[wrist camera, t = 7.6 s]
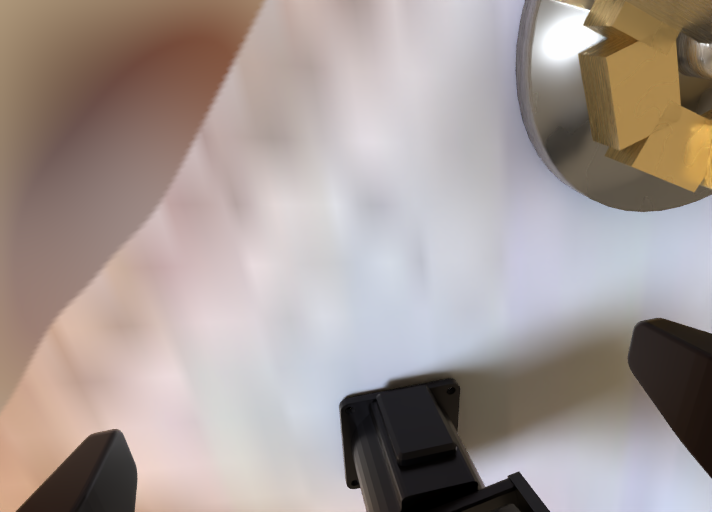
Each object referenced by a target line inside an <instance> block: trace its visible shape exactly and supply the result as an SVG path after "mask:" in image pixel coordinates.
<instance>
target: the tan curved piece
mask: <svg viewBox="0 0 712 512" xmlns="http://www.w3.org/2000/svg"><path fill="white" fill-rule="evenodd" d="M583 26H585V27H587V28H588V29H590V30H592V31H594V32H596V33H598V34H600V35H602V36H604V37H606V38H608V39H607V40H605V41H603V42H601V43H599V44H597V45H595V46H593V47H591V48H589V49H587V50H585V51H583V52H581V53H579V54H578V58H579V64H580V70H581V75H582V81H583V87H584V93H585V98H586V104H587V110H588V115H589V121H590V127H591V132H592V138H593V141H595V142H598V143H601V144H603V145H606V146H609V148H608V150H607V152H606V154H605V155H604V156H606V157H608V158H611V159H613V160H615V161H618V162H620V163H623V164H625V165H628V166H630V167H632V168H635V169H637V170H640V171H642V172H645V173H647V174H649V175H652V176H654V177H657V178H659V179H662V180H664V181H667V182H669V183H672V184H674V185H677V186H679V187H682V188H684V189H687V190H690V191H692V192H695V191H696V189H697V188H698V186H699V185H701V186H704V187H707V188H709V189H712V109H711V110H709V111H707V112H705V113H703V114H701V115H698V114H696V113H694V112H692V111H690V110H688V109H686V108H684V107H682V106H681V101H680V87H679V74H678V61H677V47H676V38H677V36H678V35H679V33H680V32H681V33H683V34H684V35H686V36H688V37H690V38H691V39H693V40H695V41H697V42H698V43H706V44H712V0H595V2H594V4H593V6H592V8H591V10H590V12H589V14H588V16H587V18H586V20H585V22H584V24H583Z"/></svg>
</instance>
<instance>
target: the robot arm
mask: <svg viewBox="0 0 712 512" xmlns="http://www.w3.org/2000/svg"><path fill="white" fill-rule="evenodd" d="M628 364H629V367H630V369H631V371H632V373H633V374H634V376H635V377H636V378H637V380H638V381H639V383H640V384H641V386H642V387H643V388H644V390H645V391H646V393H647V394H648V395H649V397H650V398H651V400H652V401H653V403H654V404H655V405H656V407H657V408H658V410H659V411H660V413H661V414H662V415H663V417H664V418H665V420H666V421H667V423H668V424H669V425H670V427H671V428H672V430H673V431H674V432H675V434H676V435H677V437H678V438H679V439H680V441H681V442H682V443H683V445H684V446H685V447H686V448H687V450H688V451H689V452H690V453H691V454H692V456H693V457H694V458H695V459H696V460H697V462H698V463H699V464H700V465H701V466H702V468H703V469H704V470H705V471H706V472H707V473H708V475H709V476H710V477H711V478H712V334H711V333H708V332H705V331H701V330H698V329H695V328H692V327H689V326H685V325H682V324H679V323H676V322H673V321H669V320H666V319H662V318H654V319H649V320H644V321H640V322H638V323H637V324H636V326H635V327H634V330H633V335H632V339H631V344H630V348H629V353H628ZM451 387H452V388H451ZM449 388H451V389H449ZM459 397H460V387H459V385H458V383H457V382H456V380H454V379H445V380H440V381H434V382H429V383H424V384H419V385H413V386H408V387H403V388H398V389H393V390H387V391H382V392H377V393H372V394H366V395H361V396H356V397H351V398H347V399H344V400H343V401H341V403H340V405H339V412H340V423H341V434H342V446H343V457H344V468H345V479H346V483H347V486H348V487H349V488H350V489H357V488H361V491H362V495H363V499H364V503H365V507H366V511H367V512H550V511H549V510H548V508H547V507H546V506H545V505H544V503H543V502H542V501H541V499H540V498H539V497H538V495H537V494H536V493H535V492H534V490H533V489H532V488H531V486H530V485H529V484H528V482H527V481H526V480H525V479H524V477H523V476H522V475H521V473H520V472H516V473H514V474H511V475H509V476H508V478H507V479H505V480H502V481H500V482H497V483H495V484H492V485H490V486H487V487H485V485H484V483H483V481H482V479H481V477H480V476H479V474H478V472H477V470H476V468H475V466H474V464H473V462H472V460H471V458H470V456H469V454H468V452H467V450H466V448H465V447H464V445H463V443H462V441H461V439H460V437H459V435H458V433H457V428H458V412H459ZM349 407H352V408H350V409H347V408H349ZM136 490H137V468H136V464H135V462H134V459H133V457H132V454H131V452H130V449H129V447H128V445H127V442H126V440H125V437H124V435H123V433H122V432H121V431H120V430H118V429H112V430H107V431H102V432H97V433H94V434H91V435H90V436H88V437H87V438H86V439H85V440H84V441H83V442H82V443H81V444H80V445H79V446H78V447H77V448H76V449H75V450H74V452H73V453H72V454H71V455H70V456H69V457H68V458H67V459H66V460H65V461H64V462H63V463H62V464H61V465H60V466H59V467H58V468H57V469H56V470H55V471H54V472H53V473H52V474H51V475H50V476H49V477H48V478H47V480H46V481H45V482H44V483H43V484H42V485H41V486H40V487H39V488H38V489H37V490H36V491H35V492H34V493H33V494H32V495H31V496H30V497H29V498H28V499H27V500H26V501H25V502H24V503H23V504H22V505H21V506H20V508H19V509H18V510H17V511H16V512H135V501H136Z"/></svg>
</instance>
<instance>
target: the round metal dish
mask: <svg viewBox="0 0 712 512" xmlns="http://www.w3.org/2000/svg"><path fill="white" fill-rule="evenodd" d="M594 2H595V0H525V3H524V7H523V11H522V15H521V19H520V26H519V33H518V40H517V50H516V82H517V95H518V101H519V105H520V110H521V115H522V119H523V122H524V125H525V128H526V130H527V133H528V136H529V139H530V141H531V142H532V144H533V146H534V148H535V150H536V152H537V154H538V156H539V157H540V158H541V159H542V161H543V162H544V163H545V165H546V166H547V167H548V169H549V170H550V171H551V172H552V173H553V174H554V175H555V176H556V177H557V178H559V179H560V180H561V181H562V182H563V183H565V184H566V185H568V186H569V187H571V188H572V189H574V190H575V191H577V192H579V193H581V194H583V195H585V196H586V197H588V198H590V199H592V200H594V201H597V202H599V203H601V204H604V205H606V206H608V207H612V208H617V209H621V210H625V211H638V212H648V211H662V210H666V209H671V208H676V207H680V206H683V205H686V204H689V203H692V202H695V201H698V200H701V199H703V198H705V197H707V196H709V195H711V194H712V189H709V188H707V187H704V186H701V185H699V186H698V188H697V189H696V191H695V192H692V191H690V190H687V189H684V188H682V187H679V186H677V185H674V184H672V183H669V182H667V181H664V180H662V179H659V178H657V177H654V176H652V175H649V174H647V173H645V172H642V171H640V170H637V169H635V168H632V167H630V166H628V165H625V164H623V163H620V162H618V161H615V160H613V159H611V158H608V157H606V156H604V155H605V154H606V152H607V150H608V148H609V146H606V145H603V144H601V143H598V142H595V141H593V138H592V132H591V127H590V121H589V115H588V110H587V104H586V98H585V93H584V87H583V81H582V75H581V70H580V64H579V58H578V54H579V53H581V52H583V51H585V50H587V49H589V48H591V47H593V46H595V45H597V44H599V43H601V42H603V41H605V40H607V39H608V38H606V37H604V36H602V35H600V34H598V33H596V32H594V31H592V30H590V29H588V28H587V27H585V26H583V24H584V22H585V20H586V18H587V16H588V14H589V12H590V10H591V8H592V6H593V4H594ZM676 47H677V61H678V74H679V87H680V101H681V106H682V107H684V108H686V109H688V110H690V111H692V112H694V113H696V114H698V115H701V114H703V113H705V112H707V111H709V110H711V109H712V44H706V43H698V42H697V41H695V40H693V39H691V38H690V37H688V36H686V35H684V34H683V33H681V32H680V33H679V35H678V36H677V38H676Z"/></svg>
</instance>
